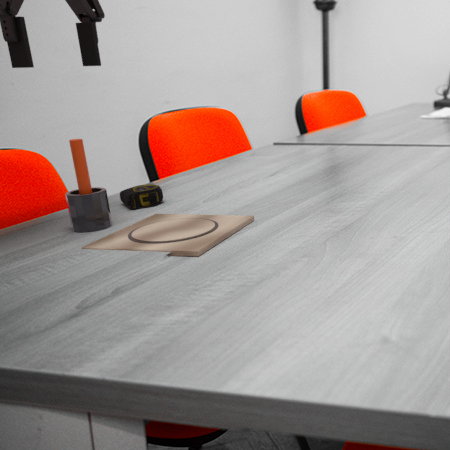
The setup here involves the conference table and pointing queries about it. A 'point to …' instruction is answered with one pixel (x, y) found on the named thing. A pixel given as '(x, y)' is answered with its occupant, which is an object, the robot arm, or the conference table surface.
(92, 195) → the pen pot
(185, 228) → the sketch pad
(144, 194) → the tape measure
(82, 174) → the marker pen
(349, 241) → the conference table surface
